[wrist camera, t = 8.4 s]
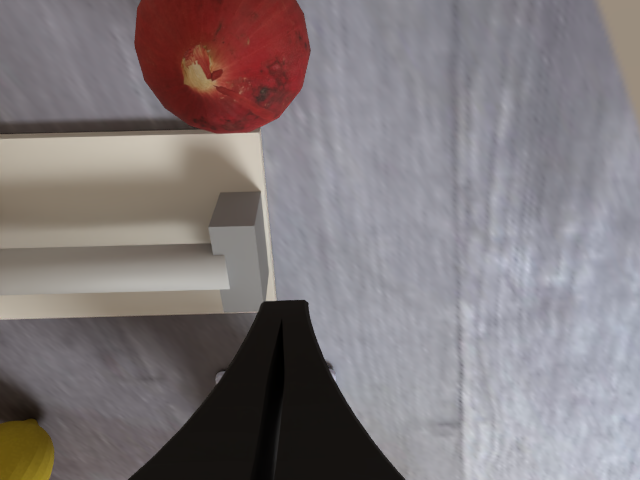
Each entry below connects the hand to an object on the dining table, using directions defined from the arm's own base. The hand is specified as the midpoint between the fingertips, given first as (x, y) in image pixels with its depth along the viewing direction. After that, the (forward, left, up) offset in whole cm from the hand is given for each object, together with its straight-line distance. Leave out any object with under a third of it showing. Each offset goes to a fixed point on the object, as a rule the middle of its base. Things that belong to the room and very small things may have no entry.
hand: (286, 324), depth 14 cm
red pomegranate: (+7, +2, -11) cm, 13 cm away
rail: (-3, +14, -10) cm, 17 cm away
